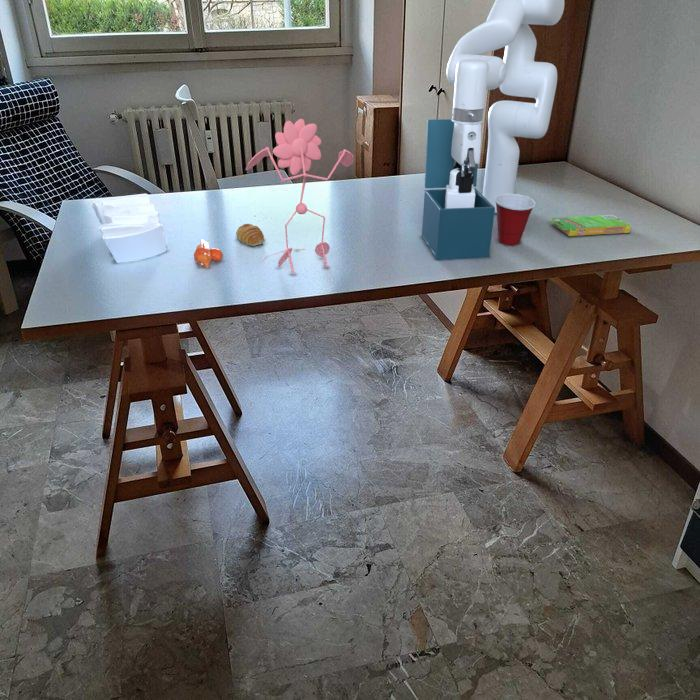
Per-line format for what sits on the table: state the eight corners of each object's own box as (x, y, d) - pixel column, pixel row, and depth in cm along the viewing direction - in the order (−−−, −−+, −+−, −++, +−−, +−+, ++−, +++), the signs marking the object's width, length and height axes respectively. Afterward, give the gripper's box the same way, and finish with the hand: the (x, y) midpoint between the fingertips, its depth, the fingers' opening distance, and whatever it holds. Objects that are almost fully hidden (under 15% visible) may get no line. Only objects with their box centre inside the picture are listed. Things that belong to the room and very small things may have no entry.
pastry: (270, 244, 178) (269, 231, 176) (247, 249, 175) (246, 236, 173) (256, 233, 185) (255, 220, 183) (233, 238, 182) (232, 225, 180)
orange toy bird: (193, 233, 169) (197, 250, 159) (222, 239, 172) (227, 257, 162) (189, 251, 171) (192, 269, 161) (217, 257, 174) (222, 275, 164)
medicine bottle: (471, 211, 176) (475, 166, 169) (472, 220, 169) (477, 174, 163) (444, 210, 176) (447, 165, 170) (444, 219, 170) (448, 173, 164)
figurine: (358, 263, 168) (361, 120, 150) (263, 282, 157) (253, 130, 140) (331, 243, 180) (331, 108, 162) (241, 259, 169) (230, 117, 151)
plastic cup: (506, 252, 175) (512, 208, 169) (481, 238, 183) (486, 196, 177) (538, 245, 179) (545, 202, 173) (512, 232, 188) (518, 191, 182)
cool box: (489, 257, 172) (495, 207, 165) (436, 259, 170) (440, 209, 164) (470, 234, 186) (475, 188, 179) (421, 236, 184) (424, 189, 178)
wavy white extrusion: (170, 263, 167) (165, 223, 161) (102, 272, 161) (93, 231, 156) (154, 219, 195) (149, 184, 189) (95, 225, 190) (88, 189, 184)
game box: (628, 235, 188) (562, 236, 184) (611, 224, 197) (547, 225, 193) (631, 225, 187) (564, 226, 183) (613, 214, 195) (549, 214, 191)
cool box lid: (481, 118, 172) (474, 116, 177) (428, 119, 170) (423, 117, 175) (476, 186, 179) (470, 182, 184) (425, 188, 177) (420, 184, 182)
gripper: (494, 122, 153) (485, 198, 162) (472, 108, 168) (465, 178, 177) (462, 123, 152) (455, 199, 161) (443, 108, 167) (438, 179, 176)
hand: (460, 187), depth 169 cm, fingers closed on medicine bottle, 6 cm apart
